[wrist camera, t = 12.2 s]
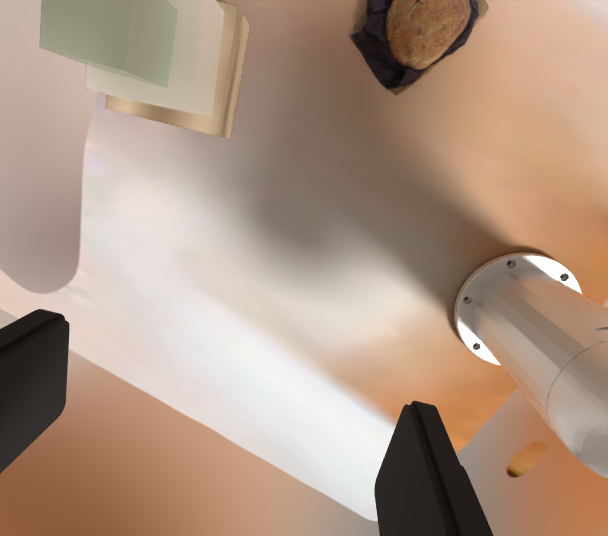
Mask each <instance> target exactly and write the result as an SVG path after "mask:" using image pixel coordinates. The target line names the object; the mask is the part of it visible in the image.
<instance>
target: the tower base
mask: <svg viewBox="0 0 608 536" xmlns="http://www.w3.org/2000/svg"><path fill="white" fill-rule="evenodd" d="M217 3H218V4H219V5H220V7H221V8H222V9H223V11H224V12H225V13H224V22H223V30H222V38H221V46H220V54H219V63H218V71H217V79H216V87H215V95H214V104H213V112H212V118H211V117H206V116H202V115H197V114H192V113H188V112H183V111H179V110H174V109H169V108H165V107H160V106H155V105H151V104H146V103H141V102H137V101H132V100H127V99H123V98H119V97H115V96H111V95H106V108H107V109H111V110H115V111H119V112H123V113H127V114H131V115H135V116H139V117H142V118H146V119H150V120H154V121H158V122H162V123H166V124H170V125H174V126H178V127H182V128H186V129H190V130H194V131H198V132H202V133H206V134H210V135H214V136H218V137H225V138H231V133H232V127H233V122H234V116H235V110H236V104H237V98H238V93H239V87H240V81H241V75H242V69H243V63H244V58H245V52H246V46H247V40H248V34H249V29H250V25H249V23H248V22H247V20H246V18H245V17H244V15H243V14H242V12H241V11H240V9H239V7H238V6H234V5H230V4H226V3H222V2H218V1H217Z"/></svg>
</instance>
